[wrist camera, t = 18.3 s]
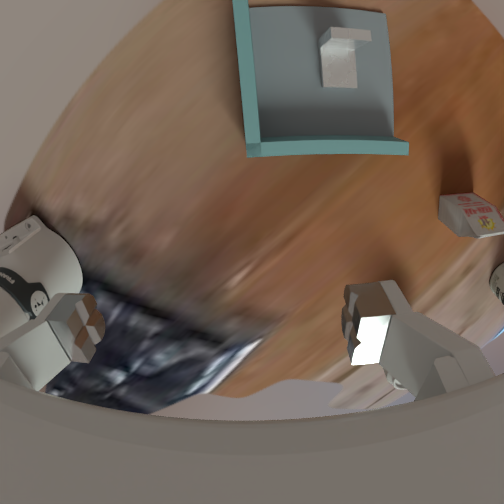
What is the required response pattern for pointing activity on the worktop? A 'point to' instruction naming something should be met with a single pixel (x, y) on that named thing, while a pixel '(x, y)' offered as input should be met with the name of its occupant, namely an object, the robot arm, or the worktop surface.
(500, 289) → the spray can
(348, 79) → the bracket
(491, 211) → the milk carton
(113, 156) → the worktop surface
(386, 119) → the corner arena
